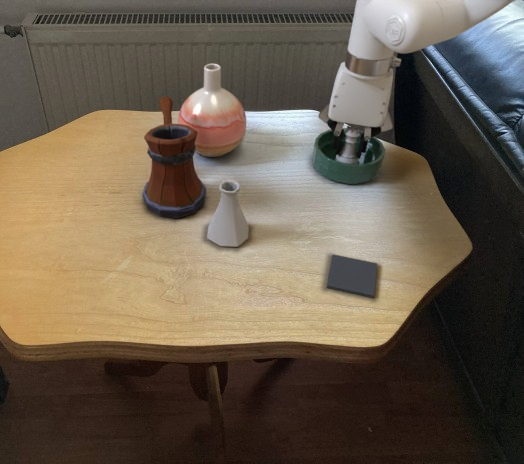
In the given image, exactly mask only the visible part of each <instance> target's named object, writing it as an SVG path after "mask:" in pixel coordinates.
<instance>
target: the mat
mask: <svg viewBox="0 0 524 464" xmlns="http://www.w3.org/2000/svg"><path fill="white" fill-rule="evenodd" d="M329 265H330V266H329V271H328V277H327V283H326V288H327V289H329V290H335V291H339V292H343V293H348V294H353V295H357V296H361V297H367V298H371V299H375V294H376V293H375V292H376V285H377V284H376V283H377V282H376V281H377V269H378V263H377V262H373V261H367V260H363V259H357V258H353V257H348V256H343V255H338V254H332V255H331V260H330V264H329Z"/></svg>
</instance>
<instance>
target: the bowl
mask: <svg viewBox="0 0 524 464" xmlns="http://www.w3.org/2000/svg"><path fill="white" fill-rule="evenodd" d="M346 128H347V127H346ZM346 128H345V127H343V131H344V130H345V129H346ZM360 131H361V134H363V132H364V131H362V130H360ZM345 136H346V135H345V133H344V132H343V137H342V142H341V146H340V150H341V149H342V147H343V144H344V137H345ZM334 138H335V135H334V132H333V131H332V130H331V129H328V130H325V131H323V132H321V133H320V134H319V135H318V136H316V138H315V141H314V145H313V149H312V157H311V163H312V166H313V168H314V169H315V171H317V172H318V173H319V174H320V175H321V176H323V177H325V178H326V179H329V180H331V181H334V182H338V183H342V184H349V185H350V184H351V185H352V184H362V183H367V182H370V181H371V180H374V179H375V178H377V177H378V176H379V174H380V173H381V171H382V166H383V162H384V158H385V154H386V147H385V146H384V144H383V142H381V140H379V138H377V136H374V137H372V138H371V139H370V140H369V141H368V144H367V148H366V152H365V153H361V158H360V159H359V158H358V164H347V163H341V162H338V161H335V158H336V155H335V152H336V148H333V143H334ZM360 138H361V135H360V136H359V137H358V139H359V141H358V142H357V146H356V152H358V147H359V143H360Z"/></svg>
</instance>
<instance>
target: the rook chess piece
mask: <svg viewBox="0 0 524 464" xmlns="http://www.w3.org/2000/svg"><path fill="white" fill-rule="evenodd" d="M361 131H362V130H361V127H360V126H359V125H355V126H354V124H348V125H346V129H345V130H344V133H345V135H346V136H345V137H344V144H343V147H342V149H341V150H340V151H339V154H338V155H336V158H335V161H338V162H341V163H347V164H358V158H357V152H356V146H357V142H358V141H359V139H358V137H359V136H360V135H361Z"/></svg>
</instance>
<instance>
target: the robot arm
mask: <svg viewBox="0 0 524 464" xmlns="http://www.w3.org/2000/svg"><path fill="white" fill-rule="evenodd" d="M513 2H516V0H356V2H355V7H354V12H353V17H352V23H351V28H350V34H349V39H348V44H347V50H346V55H345V60H344V61H342V62H341V63H340V65H339V67H338V69H337V73H336V76H335V79H334V83H333V88H332V91H331V95H330V96H331V97H330V101H329V102H328V103H326V105H325V106H324V107H323V108H322V109H321V110H320V111H319V113H318V119H319V120H321V121H322V122H323V123H325V124H326V125H327V126H328V128H329V130H332V131H333V132H334V135H335V138H334V143H333V148H336V152H335V155H338V154H339V151H340V146H341V142H342V137H343V132H344V131H343V128H344V126H345V124H348V125H351V124H353V125H355V126H356V125H357V126H363V127H364V131H363V134H361V138H360V143H359V147H358V152H357V158H359V159H360V158H361V153H365V152H366V148H367V144H368V141H369V140H370V139H371V138H372V137H377V136H378V135H379V134H381V133H382V132H383V133H384V132H388V131H389V130H392V129H393V128H394V122H393V120H392V116H391V114H390V112H389V105H390V100H391V94H392V91H393V90H392V89H393V88H392V87H393V81H394V69H393V68H395V67H397V68H399V67H401V62H402V58H398V57H397V56H396V55H394V52H395V53H397V54H404V55H405V54H413V53H414V52H418V51H421V50H423V49H426V48H428V47H429V48H430V47H431V46H434V45H437V44H440V43H443V42H445V41H449V40H451V39H454V38H455V37H457V36H459V35H461V34H463V33H465V32H467V31H469V30H470V29H472V28H473V27H476V26H477V25H479V24H481V23H483V22H484V21H486V20H487V19H489V18H491V17H492V16H494V15H496V14H497V13H499V12H500V11H501V10H503V9H505V8H506V7H508V6H509V5H510V4H512V3H513Z"/></svg>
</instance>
